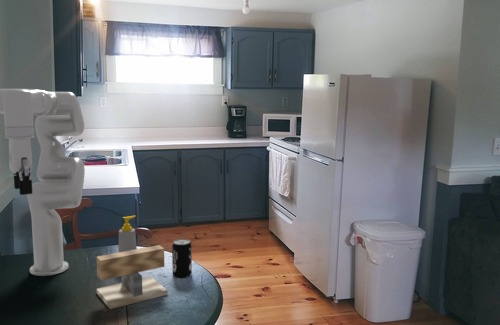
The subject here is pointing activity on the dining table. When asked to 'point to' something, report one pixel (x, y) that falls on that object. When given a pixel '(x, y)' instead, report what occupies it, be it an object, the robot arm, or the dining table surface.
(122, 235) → the soap bottle
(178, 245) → the beverage can
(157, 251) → the oak beam
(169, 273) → the dining table surface
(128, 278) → the ridge stand
